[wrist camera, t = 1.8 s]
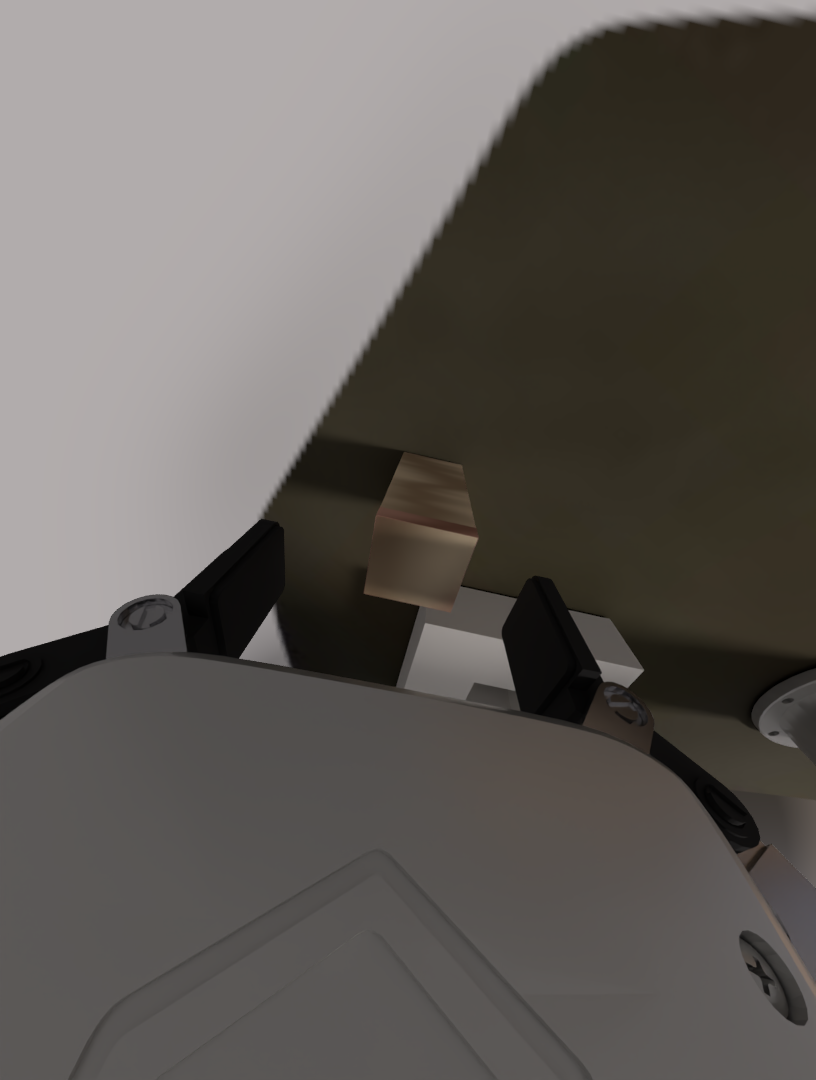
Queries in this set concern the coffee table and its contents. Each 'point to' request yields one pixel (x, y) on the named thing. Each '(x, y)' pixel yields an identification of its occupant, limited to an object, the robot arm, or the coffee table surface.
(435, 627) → the socket block
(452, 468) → the maple peg
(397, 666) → the coffee table surface
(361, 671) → the coffee table surface
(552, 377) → the coffee table surface
